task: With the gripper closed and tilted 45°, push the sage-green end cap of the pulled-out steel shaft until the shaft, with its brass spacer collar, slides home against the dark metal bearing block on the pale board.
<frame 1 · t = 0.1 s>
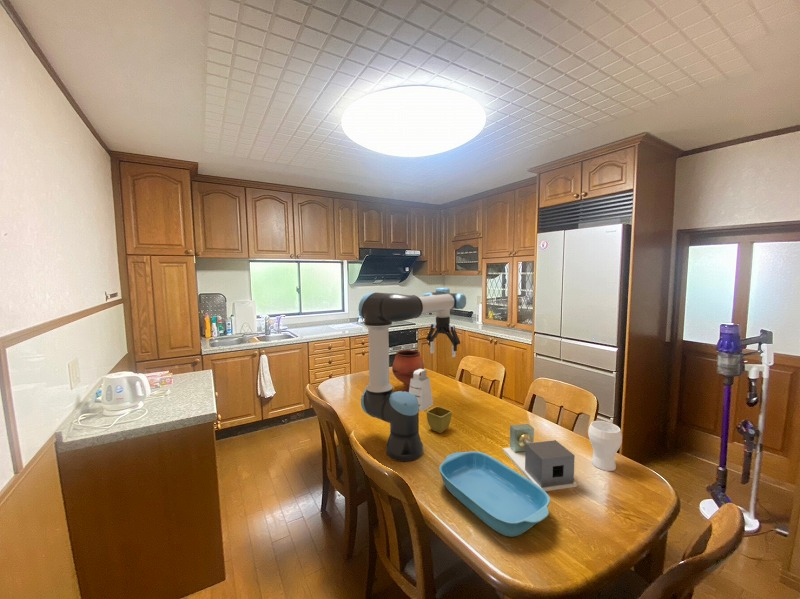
hand: (442, 355, 176), 28 cm above the table, tool pointing down, fingers open, 13 cm apart
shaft: (531, 446, 124), point 6 cm above the table, slide at 9.0 cm
bearing block: (548, 462, 114), on the base board, point 6 cm above the table
casserole dish: (490, 501, 104), on the table
base board: (538, 468, 120), on the table
flower pot: (439, 430, 151), on the table
grater: (420, 406, 178), on the table
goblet: (408, 392, 198), on the table
cup: (603, 465, 122), on the table
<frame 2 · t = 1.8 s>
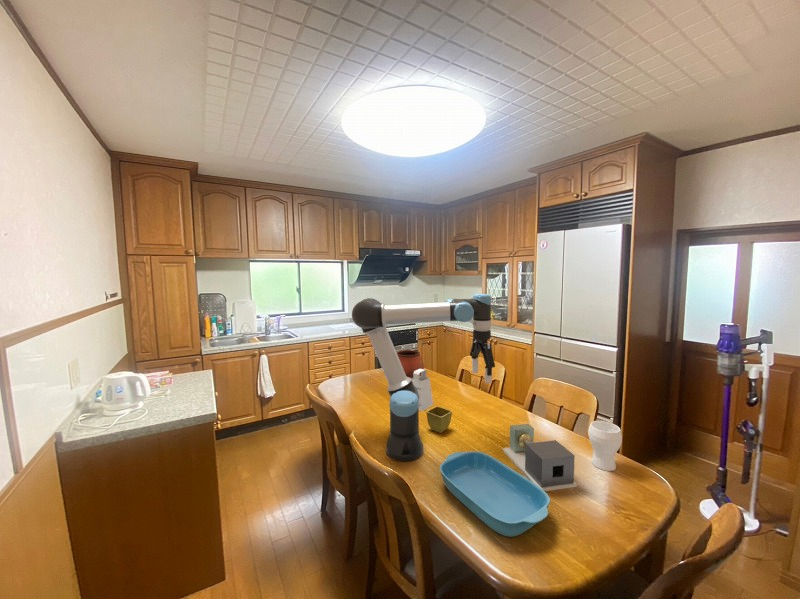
hand: (481, 377, 142), 27 cm above the table, tool pointing down, fingers open, 13 cm apart
nothing on the table moved.
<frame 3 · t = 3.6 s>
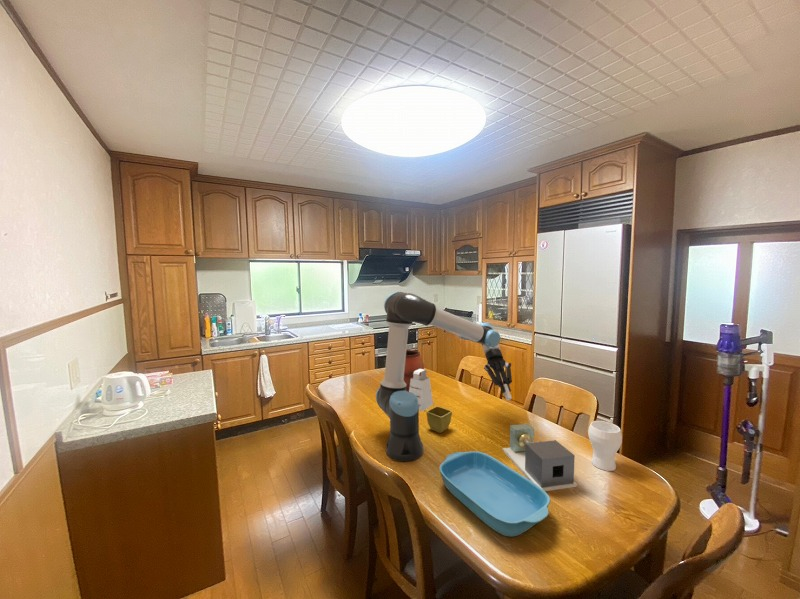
hand: (509, 399, 140), 18 cm above the table, tool tilted 45°, fingers closed
nothing on the table moved.
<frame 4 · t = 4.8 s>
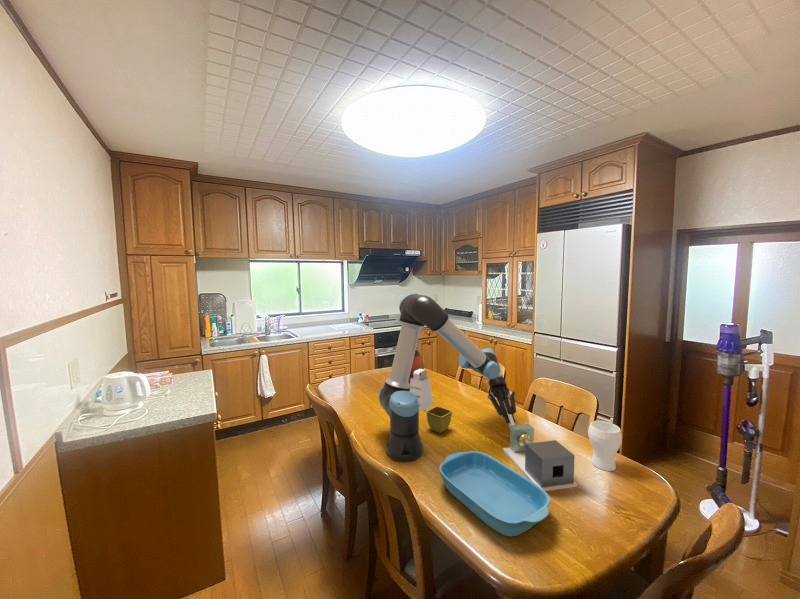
hand: (513, 430, 137), 6 cm above the table, tool tilted 45°, fingers closed
nothing on the table moved.
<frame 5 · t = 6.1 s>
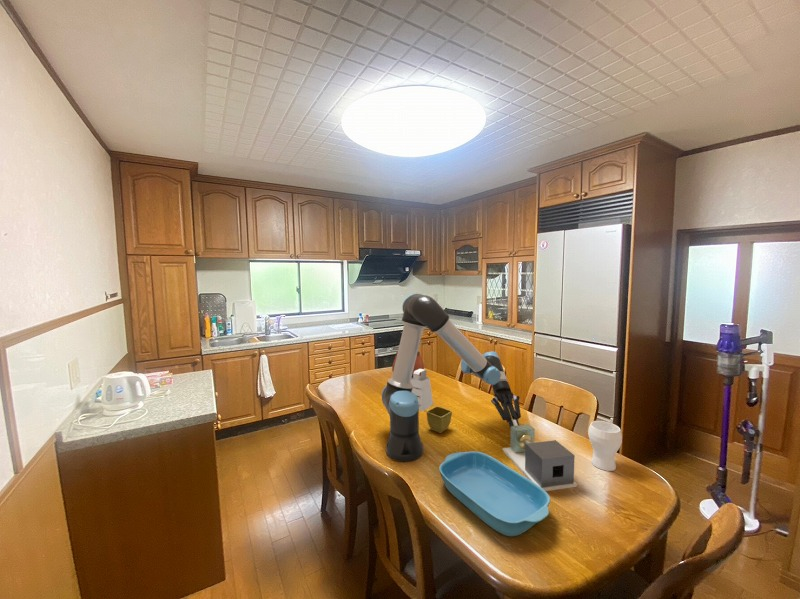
hand: (518, 436, 134), 5 cm above the table, tool tilted 45°, fingers closed
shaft: (532, 447, 124), point 6 cm above the table, slide at 8.5 cm, touching gripper
everything else where it was.
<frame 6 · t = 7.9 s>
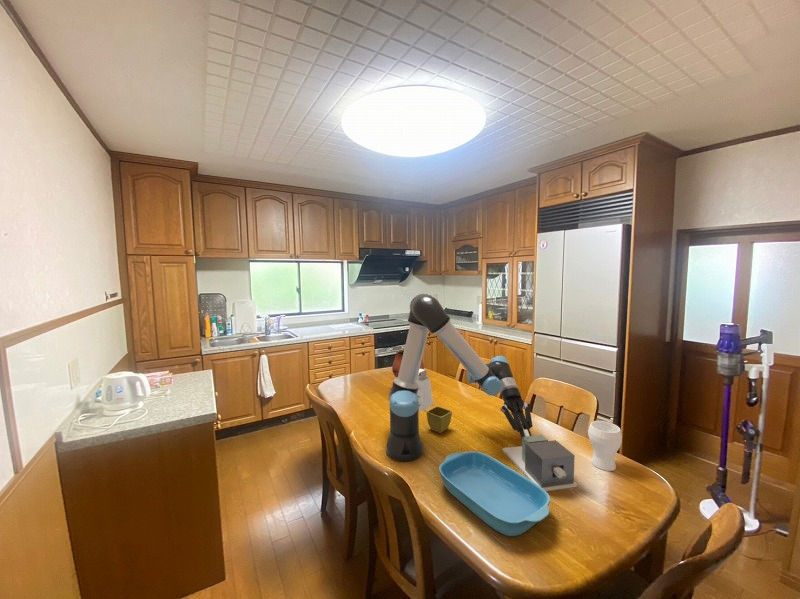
hand: (530, 447, 125), 5 cm above the table, tool tilted 45°, fingers closed
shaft: (546, 460, 115), point 6 cm above the table, slide at -0.3 cm, touching gripper
everything else where it was.
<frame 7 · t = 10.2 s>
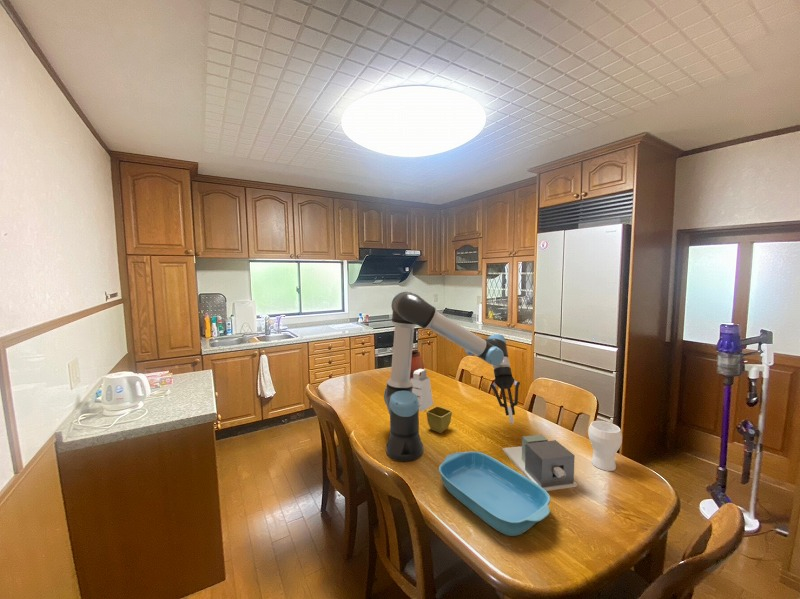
hand: (512, 423, 136), 9 cm above the table, tool tilted 30°, fingers closed
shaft: (545, 459, 115), point 6 cm above the table, slide at 0.0 cm
everything else where it was.
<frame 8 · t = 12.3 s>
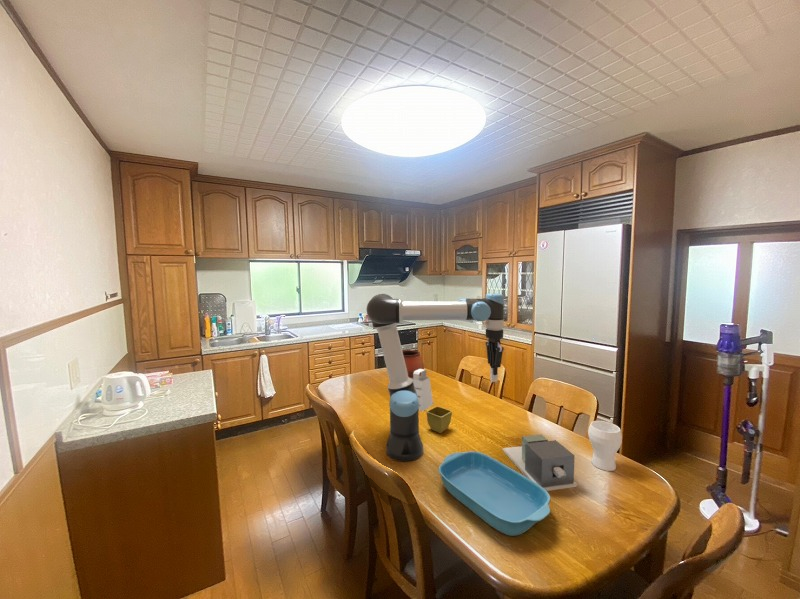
hand: (493, 381, 144), 24 cm above the table, tool pointing down, fingers closed
nothing on the table moved.
at the end: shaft slide at 0.0 cm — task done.
